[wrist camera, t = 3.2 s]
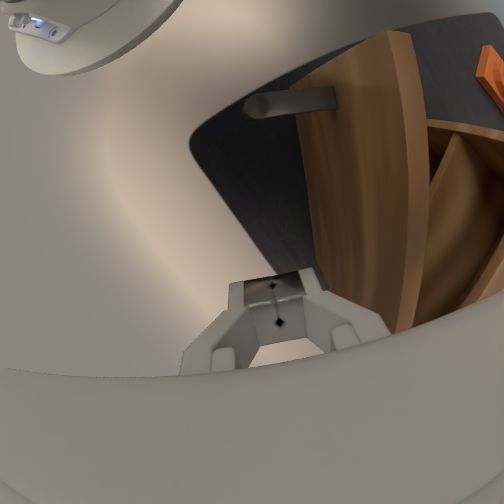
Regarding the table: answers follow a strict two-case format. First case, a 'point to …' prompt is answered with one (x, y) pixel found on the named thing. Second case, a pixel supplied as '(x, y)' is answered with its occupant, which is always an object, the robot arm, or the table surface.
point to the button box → (492, 74)
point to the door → (364, 171)
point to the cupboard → (462, 218)
